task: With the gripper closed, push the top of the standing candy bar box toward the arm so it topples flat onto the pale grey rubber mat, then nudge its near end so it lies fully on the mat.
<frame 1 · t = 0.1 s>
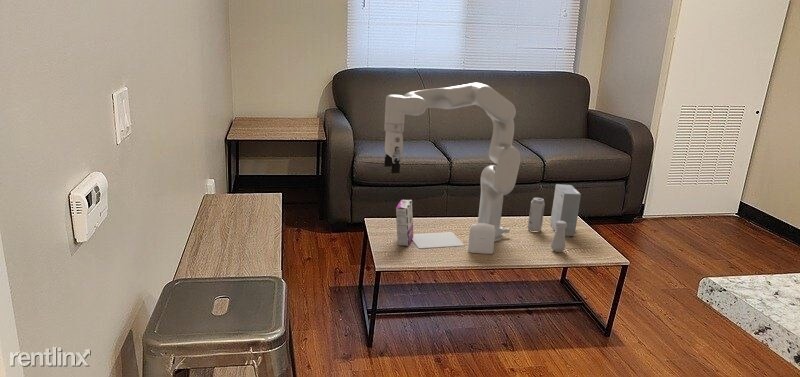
hand: (391, 169, 225), 31 cm above the table, fingers open, 9 cm apart
hard drive box: (561, 231, 259), on the table
energy drink can: (534, 230, 257), on the table
mat: (435, 240, 239), on the table
salt shaker: (557, 251, 236), on the table
candy bar box: (405, 241, 236), on the table, touching mat
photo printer: (480, 252, 230), on the table
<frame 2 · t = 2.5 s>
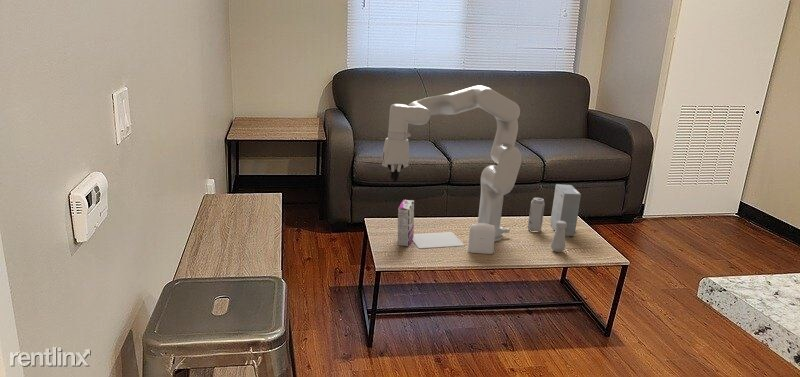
hand: (394, 180, 228), 26 cm above the table, fingers closed
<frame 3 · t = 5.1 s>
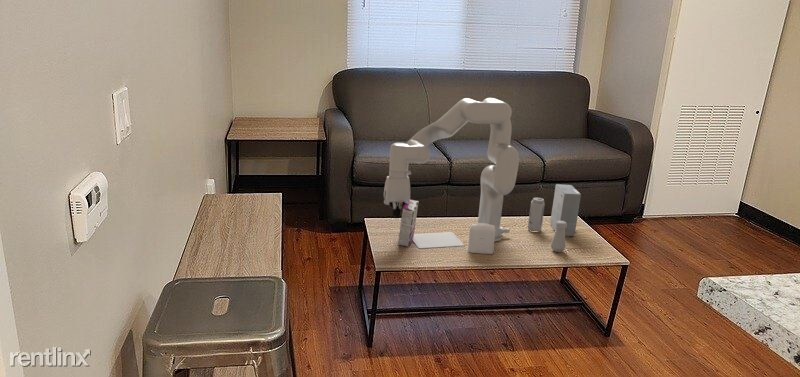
hand: (395, 217, 231), 11 cm above the table, fingers closed
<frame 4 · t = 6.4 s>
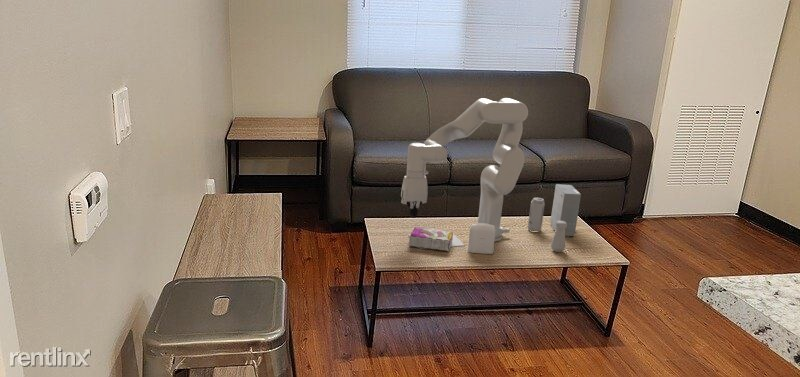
hand: (413, 216, 233), 11 cm above the table, fingers closed
candy bar box: (411, 235, 235), point 3 cm above the table, touching mat
everything else where it was.
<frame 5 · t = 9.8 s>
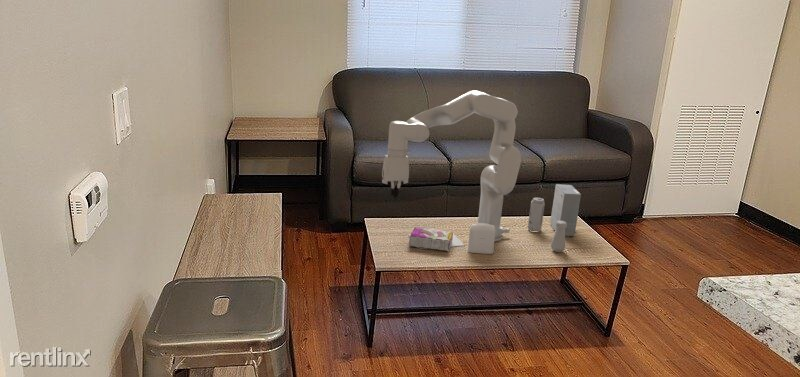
hand: (394, 197, 228), 20 cm above the table, fingers closed
nothing on the table moved.
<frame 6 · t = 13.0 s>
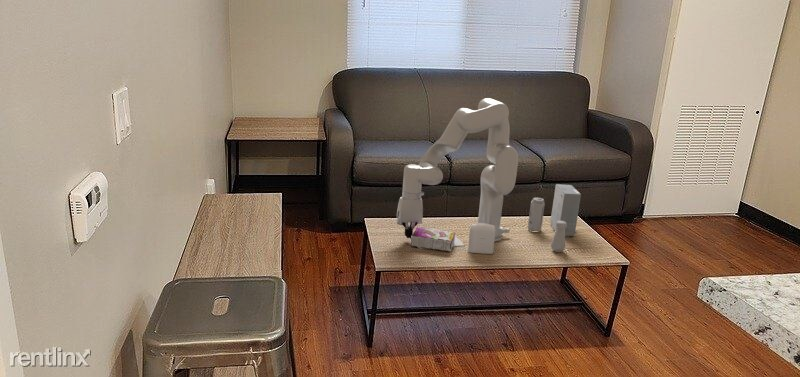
hand: (408, 236, 236), 2 cm above the table, fingers closed
candy bar box: (413, 235, 235), point 3 cm above the table, touching gripper
everything else where it was.
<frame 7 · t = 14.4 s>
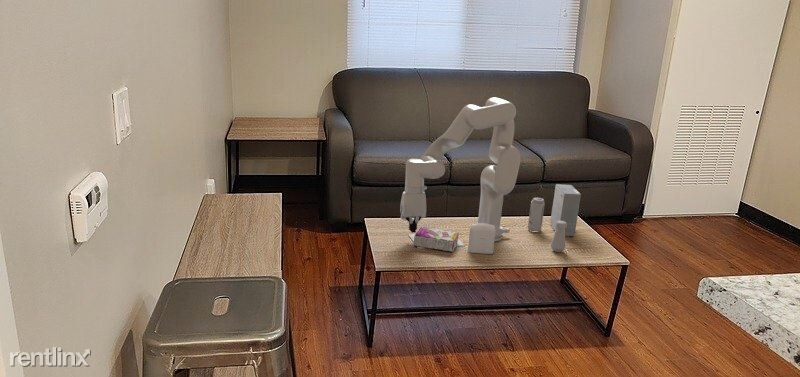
hand: (412, 231, 235), 4 cm above the table, fingers closed
candy bar box: (416, 235, 235), point 3 cm above the table, touching mat
everything else where it was.
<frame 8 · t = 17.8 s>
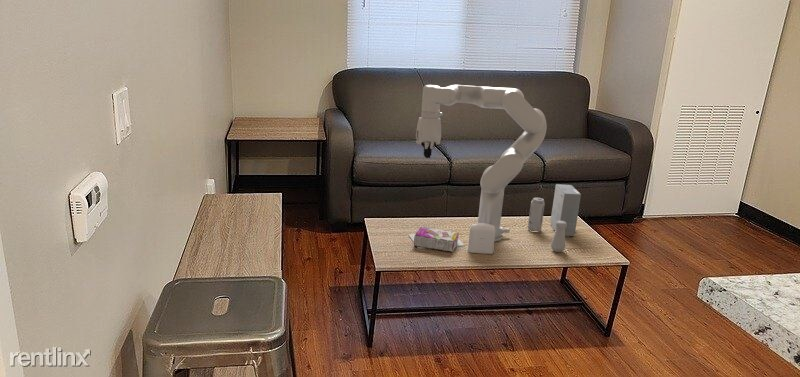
hand: (427, 157, 243), 32 cm above the table, fingers closed
nothing on the table moved.
at the end: candy bar box tilted 91°; candy bar box inside the target area (1.1 cm from its centre), point 2.8 cm above the table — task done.
